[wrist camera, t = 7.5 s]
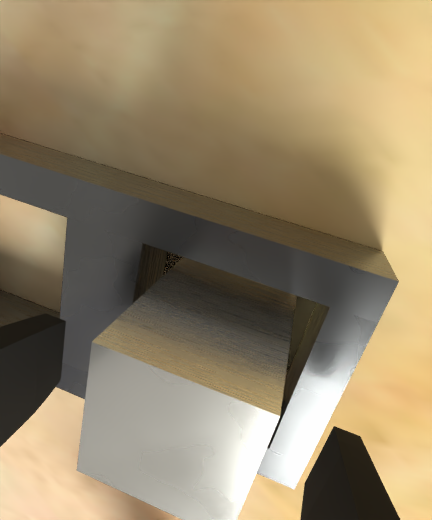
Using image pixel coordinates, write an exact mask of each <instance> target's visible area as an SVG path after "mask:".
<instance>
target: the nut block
mask: <svg viewBox="0 0 432 520" xmlns="http://www.w3.org/2000/svg"><path fill="white" fill-rule="evenodd" d="M296 298H297V296H296V295H293V294H290V293H287V292H285V291H282V290H279V289H276V288H273V287H270V286H267V285H264V284H261V283H258V282H255V281H252V280H249V279H246V278H244V277H241V276H238V275H235V274H232V273H229V272H226V271H223V270H220V269H217V268H214V267H211V266H208V265H205V264H203V263H200V262H197V261H194V260H191V259H188V258H185V257H183V258H182V259H181V260H180V261H179V262H178V263H176V264H175V265H174V266H173V267H172V268H171V269H170V270H169V271H168V272H167V273H166V274H165V275H163V276H162V277H161V278H160V279H159V280H158V281H157V282H156V283H155V284H154V285H153V286H152V287H151V288H149V289H148V290H147V291H146V292H145V293H144V294H143V295H142V296H141V297H140V298H139V299H138V300H136V301H135V302H134V303H133V304H132V305H131V306H130V307H129V308H128V309H127V310H126V311H125V312H124V313H122V314H121V315H120V316H119V317H118V318H117V319H116V320H115V321H114V322H113V323H112V324H111V325H109V326H108V327H107V328H106V329H105V330H104V331H103V332H102V333H101V334H100V335H99V336H98V337H97V338H95V339H94V340H93V341H92V345H91V354H90V362H89V371H88V379H87V387H86V396H85V404H84V413H83V421H82V430H81V438H80V447H79V455H78V464H77V471H79V472H81V473H83V474H85V475H88V476H90V477H92V478H94V479H96V480H98V481H100V482H103V483H105V484H107V485H109V486H111V487H113V488H115V489H118V490H120V491H122V492H124V493H126V494H128V495H130V496H133V497H135V498H137V499H139V500H141V501H143V502H146V503H148V504H150V505H152V506H154V507H156V508H158V509H161V510H163V511H165V512H167V513H169V514H171V515H173V516H176V517H178V518H180V519H182V520H237V518H238V516H239V513H240V511H241V508H242V506H243V504H244V501H245V499H246V496H247V494H248V492H249V489H250V487H251V485H252V482H253V480H254V477H255V475H256V473H257V470H258V468H259V465H260V463H261V461H262V458H263V456H264V453H265V451H266V449H267V446H268V444H269V442H270V439H271V437H272V434H273V432H274V430H275V427H276V425H277V422H278V420H279V418H280V413H281V406H282V399H283V391H284V384H285V377H286V370H287V363H288V355H289V348H290V341H291V334H292V327H293V320H294V312H295V305H296Z"/></svg>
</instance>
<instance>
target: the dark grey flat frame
mask: <svg viewBox="0 0 432 520" xmlns="http://www.w3.org/2000/svg"><path fill="white" fill-rule="evenodd" d="M0 194H1V195H4V196H6V197H9V198H12V199H15V200H18V201H21V202H24V203H27V204H30V205H33V206H36V207H39V208H42V209H45V210H47V211H50V212H53V213H56V214H59V215H62V216H65V217H67V229H66V242H65V255H64V269H63V282H62V295H61V308H60V313H58V312H55V311H53V310H50V309H48V308H45V307H43V306H40V305H38V304H35V303H32V302H30V301H27V300H25V299H22V298H20V297H17V296H15V295H12V294H9V293H7V292H4V291H2V290H0V327H1V326H4V325H8V324H11V323H14V322H17V321H21V320H24V319H27V318H31V317H34V316H38V315H42V314H46V313H47V314H49V315H52V316H54V317H57V318H59V319H62V320H64V321H66V326H65V338H64V349H63V360H62V372H61V380H60V382H59V383H58V384H57V386H56V387H58V388H60V389H62V390H65V391H67V392H69V393H72V394H74V395H76V396H78V397H81V398H83V399H85V396H86V387H87V379H88V371H89V362H90V354H91V345H92V341H93V340H94V339H95V338H97V337H98V336H99V335H100V334H101V333H102V332H103V331H104V330H105V329H106V328H107V327H108V326H109V325H111V324H112V323H113V322H114V321H115V320H116V319H117V318H118V317H119V316H120V315H121V314H122V313H124V312H125V311H126V310H127V309H128V308H129V307H130V306H131V305H132V304H133V303H134V302H135V301H136V300H138V299H139V298H140V297H141V296H142V295H143V294H144V293H145V292H146V291H147V290H148V289H149V288H151V287H152V286H153V285H154V284H155V283H156V282H157V281H158V280H159V279H160V278H161V277H162V276H163V273H164V268H165V263H166V258H167V253H168V252H170V253H173V254H176V255H179V256H182V257H185V258H188V259H191V260H194V261H197V262H200V263H203V264H205V265H208V266H211V267H214V268H217V269H220V270H223V271H226V272H229V273H232V274H235V275H238V276H241V277H244V278H246V279H249V280H252V281H255V282H258V283H261V284H264V285H267V286H270V287H273V288H276V289H279V290H282V291H285V292H287V293H290V294H293V295H296V296H299V297H302V298H305V299H308V300H311V301H314V302H317V303H316V305H315V308H314V310H313V313H312V315H311V317H310V320H309V322H308V325H307V327H306V330H305V332H304V335H303V337H302V339H301V342H300V344H299V347H298V349H297V352H296V354H295V357H294V359H293V361H292V364H291V366H290V369H289V371H288V374H287V376H286V379H285V384H284V391H283V399H282V406H281V413H280V418H279V420H278V422H277V425H276V427H275V430H274V432H273V434H272V437H271V439H270V442H269V444H268V446H267V449H266V451H265V453H264V456H263V458H262V461H261V463H260V465H259V468H258V470H257V474H259V475H262V476H264V477H266V478H269V479H271V480H273V481H276V482H278V483H280V484H283V485H285V486H287V487H290V488H292V489H295V487H296V485H297V483H298V481H299V479H300V477H301V475H302V473H303V471H304V469H305V467H306V465H307V463H308V461H309V459H310V457H311V455H312V453H313V451H314V449H315V447H316V445H317V443H318V441H319V439H320V437H321V435H322V433H323V431H324V429H325V427H326V425H327V423H328V421H329V419H330V417H331V415H332V413H333V411H334V409H335V408H336V406H337V404H338V402H339V400H340V398H341V396H342V394H343V392H344V390H345V388H346V386H347V384H348V382H349V380H350V378H351V376H352V374H353V372H354V370H355V368H356V366H357V364H358V362H359V360H360V358H361V356H362V354H363V352H364V350H365V348H366V346H367V344H368V342H369V340H370V338H371V336H372V334H373V332H374V330H375V328H376V326H377V324H378V322H379V320H380V318H381V316H382V314H383V312H384V310H385V308H386V306H387V304H388V302H389V300H390V298H391V296H392V294H393V292H394V290H395V288H396V286H397V284H398V282H399V281H398V279H397V277H396V275H395V273H394V271H393V270H392V268H391V266H390V264H389V262H388V260H387V258H386V256H385V254H384V252H383V251H380V250H377V249H373V248H370V247H367V246H364V245H360V244H357V243H354V242H351V241H347V240H344V239H341V238H338V237H335V236H331V235H328V234H325V233H322V232H318V231H315V230H312V229H309V228H305V227H302V226H299V225H296V224H292V223H289V222H286V221H283V220H280V219H276V218H273V217H270V216H267V215H263V214H260V213H257V212H254V211H250V210H247V209H244V208H241V207H237V206H234V205H231V204H228V203H225V202H221V201H218V200H215V199H212V198H208V197H205V196H202V195H199V194H195V193H192V192H189V191H186V190H182V189H179V188H176V187H173V186H170V185H166V184H163V183H160V182H157V181H153V180H150V179H147V178H144V177H140V176H137V175H134V174H131V173H128V172H124V171H121V170H118V169H115V168H111V167H108V166H105V165H102V164H98V163H95V162H92V161H89V160H85V159H82V158H79V157H76V156H73V155H69V154H66V153H63V152H60V151H56V150H53V149H50V148H47V147H43V146H40V145H37V144H34V143H30V142H27V141H24V140H21V139H18V138H14V137H11V136H8V135H5V134H1V133H0Z"/></svg>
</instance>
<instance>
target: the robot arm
mask: <svg viewBox="0 0 432 520" xmlns="http://www.w3.org/2000/svg"><path fill="white" fill-rule="evenodd" d="M65 326H66V321H64V320H62V319H59V318H57V317H54V316H52V315H49V314H47V313H46V314H42V315H38V316H34V317H31V318H27V319H24V320H21V321H17V322H14V323H11V324H8V325H4V326H1V327H0V447H1V446H2V445H3V444H4V443H5V442H6V441H7V440H8V439H9V438H10V437H11V436H12V435H13V434H14V433H15V432H16V431H17V430H18V429H19V428H20V427H21V426H22V425H23V424H24V423H25V422H26V421H27V420H28V419H29V418H30V417H31V416H32V415H33V414H34V413H35V412H36V410H37V409H38V408H39V407H40V406H41V404H42V403H43V402H44V401H45V400H46V398H47V397H48V396H49V395H50V393H51V392H52V391H53V389H54V388H55V387H56V386H57V384H58V383H59V382H60V380H61V372H62V360H63V349H64V338H65ZM301 520H400V518H399V516H398V514H397V512H396V510H395V508H394V506H393V504H392V502H391V500H390V498H389V496H388V494H387V492H386V489H385V487H384V485H383V483H382V481H381V479H380V477H379V475H378V473H377V471H376V468H375V466H374V464H373V462H372V460H371V458H370V456H369V454H368V451H367V449H366V447H365V445H364V443H363V441H362V439H361V437H360V436H358V435H355V434H353V433H350V432H348V431H345V430H343V429H340V428H337V427H335V426H334V427H333V429H332V431H331V433H330V435H329V437H328V439H327V441H326V443H325V445H324V447H323V449H322V451H321V453H320V455H319V457H318V459H317V461H316V463H315V464H314V466H313V468H312V470H311V472H310V474H309V476H308V478H307V480H306V482H305V486H304V495H303V503H302V511H301Z"/></svg>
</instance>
